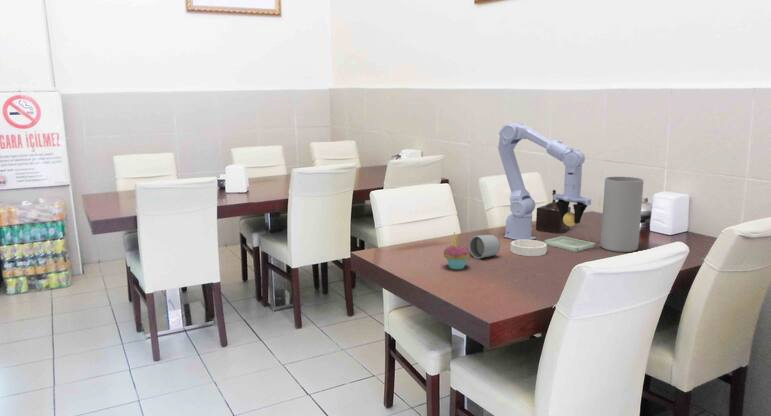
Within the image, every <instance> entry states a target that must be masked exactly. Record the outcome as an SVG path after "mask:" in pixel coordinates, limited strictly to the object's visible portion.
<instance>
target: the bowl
mask: <svg viewBox="0 0 771 416" xmlns="http://www.w3.org/2000/svg"><path fill="white" fill-rule="evenodd" d="M547 250H548V245H547V244H546V243H544V241H540V240H535V239H531V240H515V239H514V240H512V241H511V242H510V250H509V251H510V252H511V253H512V254H514V255H519V256H521V257H522V256H526V257H540V256H544V255H546V254H547Z"/></svg>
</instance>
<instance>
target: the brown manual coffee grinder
mask: <svg viewBox="0 0 771 416" xmlns="http://www.w3.org/2000/svg"><path fill="white" fill-rule="evenodd" d="M554 194H557V190H556V189H553V190H552V194H551V195H552V197H553V196H554ZM556 202H557V201H556V200H553V199H552V202H549V203H547V204H546V205H545V204H544V205H541V206H539V207H536V219H535V223H536V224H535V231H538V232H544V233H552V234H559V235H560V234H562V233H566V232H567V231H569V230H570V229H571V228H570V227H571V226H567V225H566V224H565V223H564V222H563V221H562V220H561V215H560V211H559V209H558V207H557V205H556ZM569 212H571V206H569V207H568V212H567V213H569Z"/></svg>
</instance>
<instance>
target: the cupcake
mask: <svg viewBox="0 0 771 416" xmlns="http://www.w3.org/2000/svg"><path fill="white" fill-rule="evenodd" d="M452 236H453V245H449V246H447V247H446V248H445V249H444V250H443V256H444V258H445V259H446V262H447V264H448V267H449V268H450V269H452V270H462V269H464V268H465V265H466V263H467V262H468V259H469V258H470V257H471V253H470V251H469V248H467V247H465V246H464V245H460V244H457V240H456V239H457V236H456V233H455V231H453V235H452Z"/></svg>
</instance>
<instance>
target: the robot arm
mask: <svg viewBox="0 0 771 416" xmlns="http://www.w3.org/2000/svg"><path fill="white" fill-rule="evenodd" d="M498 135H499V141H498V145H497V146H498V147H497V148H498V149H497V150H498V153H499V156H500V160H501V163H502V166H503V169H504V170H503V171H504V173H505V176H506V180H507V183H508V186H509V188H510V193H511V194H510V195H509V196H510V197H509V201H510V207H509V208H510V212H511V213H510V214H509V215H508V216H507V217H506V220H505V235H503V237H504V238H507V239H511V240H514V241H515V240H535V239H537V237H536V236H533V235H532V228H533V212H534V210H535V209H536V202H535V200H534V198H533V197H532V196H531V194H530V192H529V191H528V190H527V189H526V187H525V184H524V180H523V176H522V173H521V171H520V167H519V164H518V160H517V157H516V154H515V151H514V150H515V148H516V146H517V144H518V143H519V142H520V141H522V140H529V142H533V143H534V144H537V145H538V146H540V147H542V148H544V149H545V151H546V154H547V155H550V156H551V157H553V158H555V159H557V160H558V161H560V162H561V163H562V164H563V165H564V167H565V169H564V184H563V194H561V193H556V194H554V196H553V195H552V201H553V200H555V202H556V205H557V207H558V209H559V211H560V215H561V220H562V221H563V217H564V215H565V214H566V213H567V212H568V207H570V203H575V204H573V205H572V207H573V210H574V211H573V213H574V214H575V218H574V222H575V225H576V224H580V223H581V220H582V216H583V215H584V212H585V210H586V208H588V206H591V205H592V199H591V198H587V197H583V196H581V195H582V194H581V191H582V177H583V174H582V173H583V171H582V170H583V164H584V163H585V160H586V158H585V154H584V153H583V152H582V151H581V150H579V149H574V147H572V146H571V147H570V146H568V145H566V144H564V143H563V140H561V139H558V140H557V139H554V140H550V139H549V138H547V137H545V136H544V135H543V134H541V133H539V132H538V131H536V130H534V129H533V128H531V127H530V126H528V125H526V124H523V123H522V122H515V123H506V124H504V125H503V126H502V127H501V129H500V130H499V132H498Z"/></svg>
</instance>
